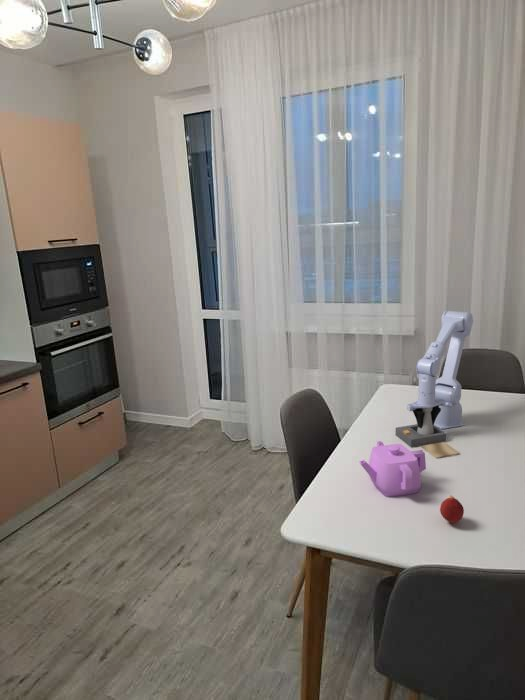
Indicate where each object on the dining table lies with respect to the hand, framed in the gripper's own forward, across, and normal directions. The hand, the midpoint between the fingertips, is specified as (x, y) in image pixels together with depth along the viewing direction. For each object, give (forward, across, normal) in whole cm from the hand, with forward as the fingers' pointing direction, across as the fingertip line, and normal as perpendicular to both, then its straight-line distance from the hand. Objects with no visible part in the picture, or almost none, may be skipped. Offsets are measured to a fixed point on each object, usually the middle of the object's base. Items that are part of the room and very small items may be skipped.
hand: (425, 426), depth 179 cm
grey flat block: (+4, +2, 0) cm, 5 cm away
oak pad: (+4, +1, +11) cm, 12 cm away
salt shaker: (+5, 0, 0) cm, 5 cm away
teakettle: (+5, +27, +24) cm, 37 cm away
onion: (+5, +22, +48) cm, 53 cm away
